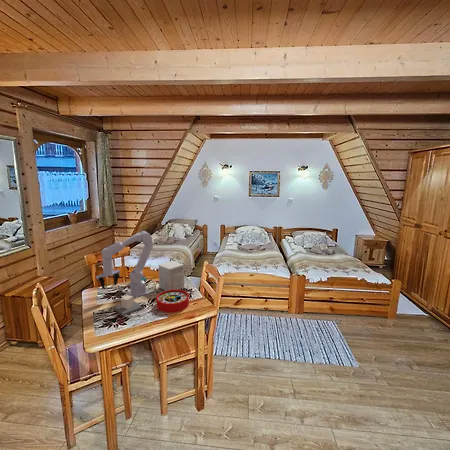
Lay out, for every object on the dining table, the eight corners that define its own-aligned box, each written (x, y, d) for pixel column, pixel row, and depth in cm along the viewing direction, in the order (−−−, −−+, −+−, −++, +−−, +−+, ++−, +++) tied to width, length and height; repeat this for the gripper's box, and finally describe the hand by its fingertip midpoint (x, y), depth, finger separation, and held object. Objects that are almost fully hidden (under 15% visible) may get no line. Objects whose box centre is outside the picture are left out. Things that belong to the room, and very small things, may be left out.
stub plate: (132, 302, 166) (132, 295, 165) (141, 309, 158) (141, 301, 157) (114, 308, 157) (113, 301, 157) (122, 316, 149) (122, 308, 148)
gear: (131, 284, 189) (132, 272, 195) (130, 287, 194) (132, 275, 199) (146, 284, 193) (147, 272, 198) (146, 287, 197) (146, 275, 203)
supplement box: (184, 287, 190) (184, 264, 186) (170, 293, 180) (169, 269, 177) (173, 282, 198) (172, 260, 195) (159, 287, 188) (158, 264, 185)
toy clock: (152, 293, 166) (182, 287, 176) (153, 301, 167) (182, 295, 177) (161, 306, 149) (193, 299, 159) (161, 316, 150) (193, 308, 160)
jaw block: (127, 304, 161) (127, 295, 160) (133, 305, 159) (133, 296, 157) (121, 307, 156) (120, 298, 155) (127, 309, 154) (126, 300, 153)
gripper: (116, 262, 172) (117, 281, 175) (93, 267, 162) (95, 288, 165) (121, 265, 167) (122, 284, 170) (97, 270, 157) (99, 291, 160)
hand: (109, 286), depth 167 cm, fingers open, 7 cm apart
